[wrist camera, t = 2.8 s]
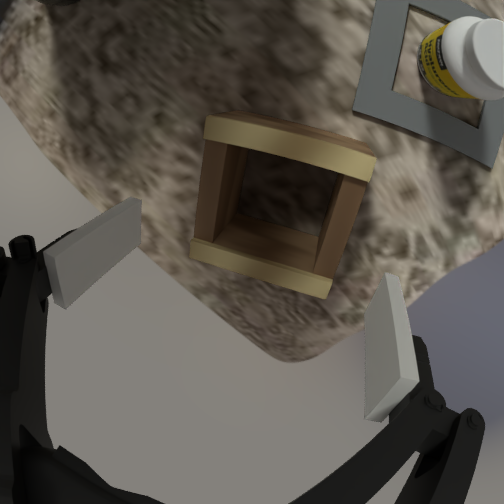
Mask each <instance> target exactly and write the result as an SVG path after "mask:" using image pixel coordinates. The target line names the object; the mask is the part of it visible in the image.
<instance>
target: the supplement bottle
mask: <svg viewBox="0 0 504 504" xmlns="http://www.w3.org/2000/svg"><path fill="white" fill-rule="evenodd" d="M417 61H418V66H419V69H420V72H421V74H422V76H423V77H424V79H425V80H426V82H427V83H428V84H429V85H430V86H431V87H432V88H433V89H435V90H436V91H438V92H439V93H441V94H444V95H447V96H452V97H460V98H470V99H479V100H498V99H501V98H503V97H504V22H503V21H501V20H498V19H481V18H478V17H472V16H465V17H461V18H458V19H456V20H454V21H452V22H450V23H448V24H446V25H445V26H443V27H441V28H439V29H438V30H436V31H434V32H433V33H431V34H429V35H428V36H426V37H425V38H424V39H423V40H422V42H421V43H420V45H419V48H418V52H417Z"/></svg>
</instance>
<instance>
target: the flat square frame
mask: <svg viewBox="0 0 504 504" xmlns="http://www.w3.org/2000/svg"><path fill="white" fill-rule="evenodd" d="M409 5H411V6H413V7H416V8H418V9H421V10H423V11H426V12H428V13H431V14H433V15H435V16H437V17H440V18H442V19H444V20H446V21H448V22H452V21H454V20H456V19H458V18H461V17H465V16H472V17H478V18H481V19H492V18H491V17H489V16H487V15H485V14H484V13H482V12H480V11H478V10H477V9H475V8H473V7H471V6H469V5H467V4H466V3H464V2H462V1H460V0H376V3H375V9H374V14H373V19H372V24H371V29H370V34H369V39H368V43H367V48H366V53H365V57H364V62H363V66H362V71H361V75H360V79H359V83H358V88H357V92H356V96H355V100H354V104H353V108H352V110H354V111H357V112H361V113H364V114H367V115H370V116H373V117H376V118H379V119H381V120H384V121H387V122H390V123H393V124H395V125H398V126H401V127H403V128H406V129H408V130H411V131H413V132H416V133H418V134H421V135H423V136H426V137H428V138H430V139H433V140H435V141H437V142H440V143H442V144H444V145H446V146H448V147H451V148H453V149H455V150H457V151H459V152H461V153H463V154H465V155H467V156H469V157H471V158H473V159H475V160H477V161H479V162H481V163H483V164H485V165H487V166H488V167H490V168H493V165H494V162H495V159H496V156H497V153H498V150H499V146H500V143H501V140H502V136H503V132H504V97H503V98H501V99H498V100H484V102H483V107H482V111H481V115H480V119H479V122H478V126H477V128H475V127H473V126H471V125H469V124H467V123H465V122H463V121H461V120H459V119H457V118H455V117H453V116H451V115H449V114H447V113H445V112H443V111H440V110H438V109H436V108H434V107H431V106H429V105H427V104H424V103H422V102H420V101H417V100H415V99H412V98H410V97H407V96H405V95H402V94H399V93H397V92H394V91H391V89H392V85H393V81H394V76H395V72H396V68H397V63H398V59H399V54H400V49H401V44H402V39H403V34H404V29H405V23H406V18H407V12H408V6H409Z"/></svg>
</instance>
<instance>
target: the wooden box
mask: <svg viewBox="0 0 504 504" xmlns="http://www.w3.org/2000/svg"><path fill="white" fill-rule="evenodd" d="M203 139H206V141H205V148H204V155H203V162H202V170H201V177H200V185H199V194H198V202H197V211H196V220H195V229H194V238H193V239H192V240H191V244H190V255H189V258H192V259H195V260H198V261H202V262H205V263H208V264H211V265H214V266H217V267H220V268H223V269H227V270H230V271H233V272H236V273H239V274H242V275H246V276H249V277H252V278H255V279H259V280H262V281H265V282H268V283H272V284H275V285H278V286H281V287H285V288H288V289H291V290H295V291H298V292H301V293H305V294H308V295H311V296H315V297H318V298H321V299H325V300H326V297H327V295H328V293H329V290H330V288H331V285H332V281H333V277H334V275H335V272H336V270H337V267H338V265H339V262H340V259H341V257H342V254H343V252H344V249H345V246H346V244H347V241H348V238H349V235H350V233H351V230H352V227H353V224H354V222H355V219H356V216H357V213H358V210H359V207H360V204H361V201H362V198H363V195H364V192H365V189H366V186H367V183H368V182H370V179H371V176H372V172H373V169H374V166H375V163H376V160H377V159H376V157H375V156H374V154H373V153H372V151H371V150H370V148H369V147H368V145H367V144H366V143H364V142H361V141H358V140H355V139H351V138H348V137H345V136H342V135H338V134H335V133H332V132H328V131H325V130H321V129H317V128H314V127H310V126H306V125H302V124H298V123H294V122H290V121H286V120H282V119H278V118H273V117H269V116H264V115H259V114H255V113H250V112H244V111H239V110H236V111H230V112H224V113H219V114H213V115H208V116H206V121H205V128H204V135H203ZM249 148H250V149H254V150H258V151H263V152H267V153H271V154H275V155H279V156H283V157H286V158H290V159H294V160H298V161H301V162H305V163H308V164H312V165H315V166H319V167H322V168H326V169H329V170H332V171H336V172H338V175H337V179H336V182H335V186H334V189H333V192H332V196H331V199H330V202H329V205H328V209H327V212H326V215H325V218H324V221H323V225H322V228H321V231H320V234H319V237H317V236H314V235H311V234H307V233H304V232H301V231H297V230H294V229H290V228H287V227H284V226H280V225H277V224H273V223H270V222H266V221H263V220H259V219H256V218H252V217H249V216H245V215H242V214H238V213H237V210H238V204H239V199H240V193H241V188H242V183H243V177H244V172H245V166H246V161H247V156H248V151H249Z"/></svg>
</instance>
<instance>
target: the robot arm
mask: <svg viewBox="0 0 504 504" xmlns="http://www.w3.org/2000/svg"><path fill="white" fill-rule="evenodd" d="M36 1H38V2H40V3H43V4H48V5H59V6H64V5H69V4H72V3H75V2H77V1H79V0H36ZM141 205H142V200H140V199H137V198H133V197H129V198H128V199H126V200H124V201H122V202H121V203H119V204H117V205H116V206H114V207H112V208H110V209H109V210H107V211H105V212H104V213H102V214H101V215H99V216H97V217H96V218H94V219H92V220H91V221H89V222H88V223H86V224H84V225H83V226H81V227H80V228H78V229H75V230H71V231H69V232H67V233H65V234H64V235H62V236H61V237H59V238H58V239H56V240H55V241H53V242H51V243H50V244H48V245H47V246H46V247H44V248H43V249H41V250H40V251H38V252H37V251H36V246H35V241H34V238H33V237H32V236H30V235H21V236H18V237H15V238H14V239H12V240H11V241H10V242H9V249H10V253H11V257H12V258H11V257H6V255H5V251H4V248H3V247H0V504H164V503H162V502H160V501H157V500H155V499H153V498H151V497H148V496H145V495H140V494H136V493H132V492H128V491H124V490H121V489H117V488H114V487H112V486H110V485H109V484H107V483H106V482H105V481H104V480H103V479H102V478H101V477H100V476H99V475H98V474H97V473H96V472H95V471H94V470H93V469H92V468H91V467H90V466H88V464H86V462H84V461H82V460H81V459H79V458H78V457H76V456H75V455H73V454H72V453H70V452H69V451H67V450H66V449H65V448H63V447H62V446H59V447H58V449H54V448H53V444H52V441H51V439H50V436H49V434H48V430H47V420H46V405H45V343H46V327H47V315H48V298H47V297H48V296H49V295H50V294H51V293H52V295H53V299H54V302H55V303H56V304H57V305H59V306H60V307H62V308H64V309H67V308H68V307H69V306H70V305H71V304H72V303H73V302H74V301H76V299H78V298H79V297H80V296H81V295H82V294H83V293H84V292H85V291H86V290H87V289H89V288H90V287H91V286H92V285H93V284H94V283H95V282H96V281H97V280H99V279H100V278H101V277H102V276H103V275H104V274H106V273H107V272H108V271H109V270H110V269H111V268H112V267H114V266H115V265H116V264H117V263H118V262H119V261H121V260H122V259H123V258H124V257H125V256H126V255H127V254H129V253H130V252H131V251H132V250H133V249H135V248H136V247H137V246H138V245H140V244H141ZM364 321H365V360H366V361H365V369H366V370H365V414H364V419H366V420H371V421H376V422H382V421H383V420H384V419H385V418H386V417H387V416H388V415H389V424H388V425H387V426H386V427H385V428H384V429H383V430H382V431H381V432H379V433H378V434H377V435H376V436H375V437H374V438H373V439H372V440H371V441H370V442H369V443H368V444H366V445H365V447H363V448H362V449H361V450H360V451H358V452H357V453H356V454H355V455H354V456H353V457H351V459H349V460H348V461H347V462H345V463H344V464H343V465H342V466H340V467H339V468H338V469H337V470H335V471H334V472H333V473H331V474H330V475H329V476H328V477H326V478H325V479H324V480H322V481H321V482H320V483H318V484H317V485H315V486H314V487H313V488H311V489H310V490H308V491H307V492H305V493H304V494H302V495H301V496H300V497H298V498H297V499H295V500H293V501H292V502H290V503H289V504H365V503H367V501H369V500H370V499H371V498H372V497H373V496H374V495H375V494H376V493H377V492H378V491H379V490H380V489H381V488H382V487H383V486H384V485H385V484H386V483H387V482H388V481H389V480H390V479H391V478H392V477H393V476H394V475H395V473H396V472H397V471H398V470H399V469H400V468H401V467H402V466H403V465H404V464H405V462H406V461H407V460H408V459H409V458H410V457H411V455H412V454H413V453H414V452H415V451H417V452H419V453H420V455H419V457H418V459H417V461H416V463H415V465H414V468H413V470H412V472H411V474H410V476H409V477H408V479H407V481H406V484H405V485H404V487H403V489H402V491H401V493H400V494H399V496H398V498H397V500H396V502H395V504H464V502H465V499H466V496H467V493H468V490H469V487H470V484H471V481H472V477H473V474H474V471H475V468H476V464H477V460H478V456H479V452H480V448H481V444H482V440H483V435H484V430H485V422H484V419H483V417H482V415H481V414H480V413H479V412H478V411H477V410H475V409H472V408H467V409H466V410H464V411H463V412H462V413H461V414H459V413H457V412H455V411H453V410H451V409H448V408H447V407H446V402H445V400H444V398H443V396H442V395H441V394H440V393H439V392H438V391H436V390H435V389H434V383H433V378H432V372H431V367H430V365H429V363H430V362H429V358H428V352H427V348H426V345H425V344H424V342H423V340H422V339H421V337H418V336H414V335H412V334H411V329H410V324H409V319H408V315H407V310H406V306H405V301H404V297H403V293H402V289H401V285H400V281H399V277H398V276H396V275H393V274H390V273H387V272H385V273H384V275H383V277H382V279H381V281H380V283H379V285H378V288H377V290H376V292H375V294H374V296H373V298H372V300H371V302H370V304H369V306H368V308H367V309H366V311H365V313H364Z"/></svg>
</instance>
